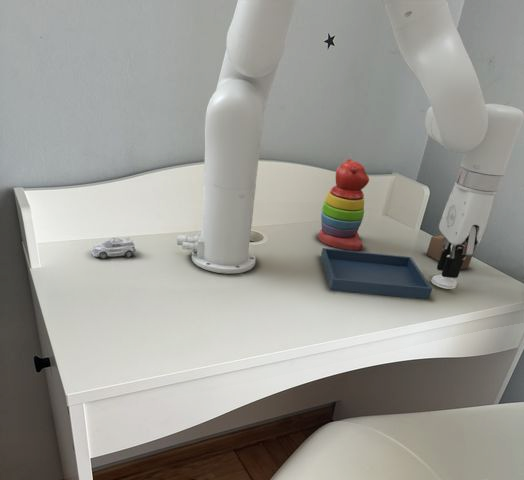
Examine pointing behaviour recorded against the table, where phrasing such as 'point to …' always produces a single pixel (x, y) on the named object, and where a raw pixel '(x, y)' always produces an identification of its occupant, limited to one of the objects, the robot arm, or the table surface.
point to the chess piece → (444, 279)
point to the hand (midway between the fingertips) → (446, 272)
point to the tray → (374, 274)
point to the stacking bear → (344, 208)
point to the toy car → (114, 248)
